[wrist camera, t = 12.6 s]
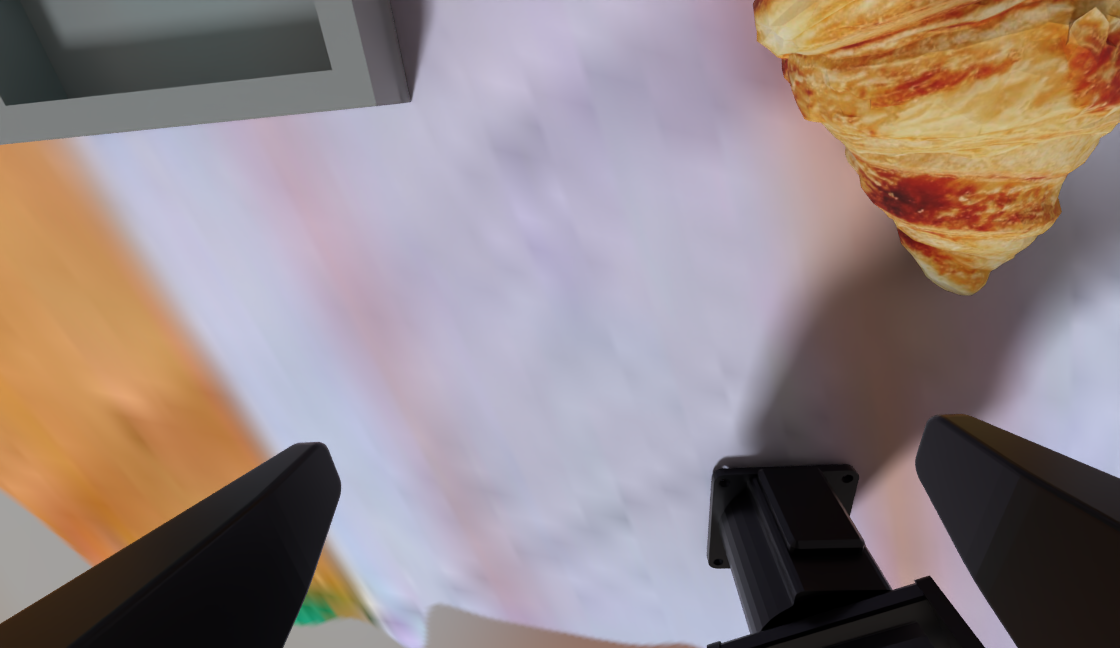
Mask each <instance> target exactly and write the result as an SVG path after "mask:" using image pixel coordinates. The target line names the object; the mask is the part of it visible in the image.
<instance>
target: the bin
mask: <svg viewBox="0 0 1120 648" xmlns="http://www.w3.org/2000/svg"><path fill="white" fill-rule="evenodd" d="M407 102H411V100H410V96H409V91H408V86H407V81H406V77H405V72H404V67H403V62H402V58H401V53H400V48H399V43H398V38H397V34H396V29H395V24H394V19H393V15H392V10H391V5H390V0H0V145H2V144H12V143H21V142H31V141H41V140H50V139H60V138H70V137H80V136H89V135H99V134H109V133H119V132H128V131H138V130H148V129H157V128H167V127H177V126H187V125H196V124H206V123H216V122H225V121H235V120H245V119H255V118H264V117H274V116H284V115H294V114H303V113H313V112H323V111H332V110H342V109H352V108H362V107H371V106H381V105H389V104H398V103H407Z"/></svg>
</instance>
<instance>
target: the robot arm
mask: <svg viewBox="0 0 1120 648" xmlns="http://www.w3.org/2000/svg"><path fill="white" fill-rule="evenodd" d="M915 466H916V471H917V475H918V477H919V479H920V481H921V483H922V485H923V487H924V488H925V490H926V492H927V494H928V496H929V498H930V500H931V502H932V504H933V505H934V507H935V509H936V511H937V513H938V515H939V517H940V519H941V520H942V522H943V524H944V526H945V528H946V530H947V532H948V534H949V536H950V537H951V539H952V541H953V543H954V545H955V547H956V549H957V551H958V553H959V554H960V556H961V558H962V560H963V562H964V564H965V565H966V567H967V569H968V571H969V572H970V574H971V576H972V578H973V579H974V581H975V583H976V584H977V586H978V587H979V589H980V591H981V592H982V594H983V595H984V597H985V599H986V600H987V602H988V603H989V605H990V606H991V608H992V609H993V611H994V612H995V614H996V615H997V617H998V618H999V620H1000V622H1001V623H1002V625H1003V626H1004V628H1005V629H1006V631H1007V632H1008V634H1009V635H1010V637H1011V638H1012V640H1013V641H1014V643H1015V644H1016V646H1017V647H1018V648H1120V478H1117V477H1115V476H1112V475H1110V474H1108V473H1105V472H1103V471H1101V470H1098V469H1096V468H1093V467H1091V466H1089V465H1086V464H1084V463H1081V462H1079V461H1077V460H1074V459H1072V458H1070V457H1067V456H1065V455H1062V454H1060V453H1058V452H1055V451H1053V450H1051V449H1048V448H1046V447H1043V446H1041V445H1039V444H1036V443H1034V442H1032V441H1029V440H1027V439H1024V438H1022V437H1020V436H1017V435H1015V434H1012V433H1010V432H1008V431H1005V430H1003V429H1001V428H998V427H996V426H993V425H991V424H989V423H986V422H984V421H982V420H979V419H977V418H974V417H972V416H969V415H966V414H944V415H935V416H932V417H931V418H930V419H929V420H928V421H927V423H926V426H925V429H924V432H923V436H922V439H921V442H920V445H919V449H918V452H917V455H916V459H915ZM845 475H846V476H845ZM722 479H726V480H724V481H721V480H722ZM858 480H859V475H858V473H857V472H856V471H855V469H854V468H853V466H851V465H847V464H840V465H813V466H785V467H758V468H731V469H719V470H717V471H715V472H714V473H713V475H712V481H711V497H710V512H709V528H708V544H707V559H708V563H709V565H710V566H711V567H713V568H717V569H721V568H731V571H732V575H733V578H734V581H735V585H736V588H737V591H738V595H739V598H740V601H741V605H742V608H743V611H744V614H745V618H746V621H747V624H748V628H749V631H750V635H746V636H743V637H740V638H737V639H733V640H730V641H727V642H724V643H721V642H720V641H718V642H715V643H712V644H708V645H707V648H985V647H984V646H983V644H982V643H981V642H980V641H979V639H978V638H977V637H976V635H975V634H974V633H973V631H972V630H971V629H970V627H969V626H968V625H967V624H966V622H965V621H964V620H963V618H962V617H961V616H960V614H959V613H958V612H957V610H956V609H955V608H954V607H953V605H952V604H951V603H950V601H949V600H948V599H947V597H946V596H945V595H944V593H943V592H942V591H941V590H940V588H939V587H938V586H937V584H936V583H935V582H934V580H933V579H932V578H931V577H930V576H926V577H923V578H920V579H917V580H914V581H915V583H914V584H911V585H907V586H904V587H901V588H898V589H895V590H892V588H891V587H890V585H889V583H888V582H887V580H886V578H885V577H884V575H883V573H882V572H881V570H880V568H879V567H878V565H877V563H876V562H875V560H874V559H873V557H872V555H871V554H870V552H869V550H868V549H867V547H866V545H865V542H864V540H863V538H862V536H861V535H860V533H859V531H858V530H857V528H856V526H855V525H854V523H853V522H852V520H851V518H850V513H851V509H852V505H853V500H854V496H855V492H856V488H857V484H858ZM340 494H341V481H340V478H339V475H338V473H337V470H336V468H335V465H334V462H333V460H332V457H331V455H330V452H329V450H328V448H327V446H326V445H325V444H323V443H321V442H305V443H297V444H294V445H292V446H290V447H289V448H287V449H285V450H284V451H282V452H281V453H279V454H277V455H276V456H274V457H272V458H271V459H269V460H267V461H266V462H264V463H263V464H261V465H259V466H258V467H256V468H254V469H253V470H251V471H249V472H248V473H246V474H245V475H243V476H241V477H240V478H238V479H236V480H235V481H233V482H231V483H230V484H228V485H227V486H225V487H223V488H222V489H220V490H218V491H217V492H215V493H213V494H212V495H210V496H209V497H207V498H205V499H204V500H202V501H200V502H199V503H197V504H195V505H194V506H192V507H191V508H189V509H187V510H186V511H184V512H182V513H181V514H179V515H177V516H176V517H174V518H173V519H171V520H169V521H168V522H166V523H164V524H163V525H161V526H159V527H158V528H156V529H155V530H153V531H151V532H150V533H148V534H146V535H145V536H143V537H141V538H140V539H138V540H137V541H135V542H133V543H132V544H130V545H128V546H127V547H125V548H123V549H122V550H120V551H119V552H117V553H115V554H114V555H112V556H110V557H109V558H107V559H105V560H104V561H102V562H101V563H99V564H97V565H96V566H94V567H92V568H91V569H89V570H87V571H86V572H85V573H83V574H81V575H79V576H78V577H76V578H74V579H73V580H71V581H70V582H68V583H66V584H65V585H63V586H61V587H60V588H58V589H57V590H55V591H53V592H52V593H50V594H48V595H47V596H45V597H44V598H42V599H40V600H39V601H37V602H35V603H34V604H32V605H30V606H29V607H27V608H25V609H24V610H22V611H21V612H19V613H17V614H16V615H14V616H12V617H11V618H9V619H8V620H6V621H4V622H2V623H1V624H0V648H283V647H284V645H285V642H286V640H287V638H288V635H289V633H290V631H291V629H292V627H293V624H294V622H295V620H296V618H297V615H298V613H299V611H300V609H301V606H302V604H303V601H304V599H305V597H306V594H307V592H308V589H309V586H310V584H311V581H312V578H313V576H314V573H315V570H316V567H317V564H318V561H319V558H320V555H321V552H322V549H323V546H324V543H325V540H326V537H327V534H328V531H329V528H330V525H331V522H332V519H333V516H334V513H335V510H336V507H337V504H338V501H339V498H340Z"/></svg>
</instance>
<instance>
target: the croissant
mask: <svg viewBox="0 0 1120 648" xmlns="http://www.w3.org/2000/svg"><path fill="white" fill-rule="evenodd" d="M753 8H754V17H755V26H756V29H757V41H758V42H759V43H760V44H762V45H763V46H764V47H766V48H767V49H769V50H770V51H771V52H772V53H773V54H774V55H775V56H776V57H778V58H781V59H782V71H783V75H784V78H785V79H786V80H787V81H788V82H789V83H790V85H791V88H792V92H793V95H794V98H795V100H796V103H797V105H798V107H799V109H800V111H801V113H802V115H803V117H804V119H806V120H808V121H813V122H821V123H822V124H823V125H824V126H825V127H826V128H827V129H828V130H829V131H830V132H831V134H832V135H833V136H834V137H835V138H837V139H838V140H840V141H841V142H842V143H843V144H844V145H845V146H846V149H845V155H846V158H847V160H848V163H849V164H850V165H851V166H852V167H853V168H854V170H855V171H856V172H857V173H858V174H859V177H860V183H861V188H862V189H863V190H864V192H865V193H866V194H867V196H868V197H869V198H870V200H871V201H872V202H873V203H874V204H875V205H876V206H878V207H879V208H880V209H881V210H883V211H884V212H885V213H886V215H887V216H888V217H889V218H891V219H893V220H894V222H895V224H896V226H897V231H898V234H899V237H900V241H901V244H902V245H903V246H904V247H905V248H906V249H907V250H908V251H909V252H910V253H911V255H912V256H913V257H914V259H915V260H916V261H917V263H918V264H919V266H920V267H921V269H922V271H923V272H924V274H925V276H926V277H927V278H929V279H930V280H931V281H932V282H933V283H935V284H936V285H938V286H939V287H941V288H942V289H944V290H946V291H949V292H952V293H956V294H959V295H973V294H975V293H976V292H978V291H979V290H980V289H981V288H982V287H983V286H985V284H986V282H987V280H988V277H989V274H990V272H991V271H992V270H995V269H997V268H998V267H999V266H1000V265H1002V264H1003V263H1005V262H1007V261H1009V260H1011V259H1013V258H1014V257H1015V255H1016V254H1017V253H1019V252H1020V251H1022V250H1023V249H1025V248H1027V247H1028V246H1029V245H1030V244H1031V243H1032V242H1033V241H1034V240H1035V239H1036V237H1037V236H1038V235H1040V234H1043V233H1044V232H1046V231H1047V230H1048V229H1049V228H1050V227H1051V226H1052V225H1053V224H1054V222H1055V221H1056V219H1057V218H1058V217H1059V215H1060V214H1061V212H1062V210H1061V207H1060V203H1059V199H1058V196H1059V193H1060V189H1061V186H1062V184H1063V182H1064V180H1065V178H1066V177H1067V175H1068V173H1070V172H1072V171H1073V170H1075V169H1076V168H1078V167H1079V166H1081V165H1082V164H1083V163H1085V161H1086V160H1087V159H1088V157H1089V156H1090V154H1091V153H1092V152H1093V150H1094V149H1095V147H1096V146H1097V145H1098V143H1099V140H1100V138H1101V137H1103V136H1104V135H1106V134H1108V133H1110V132H1111V131H1112V130H1113V129H1114V127H1115V126H1116V125H1117V124H1118V123H1120V0H755V1H754V3H753Z"/></svg>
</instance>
